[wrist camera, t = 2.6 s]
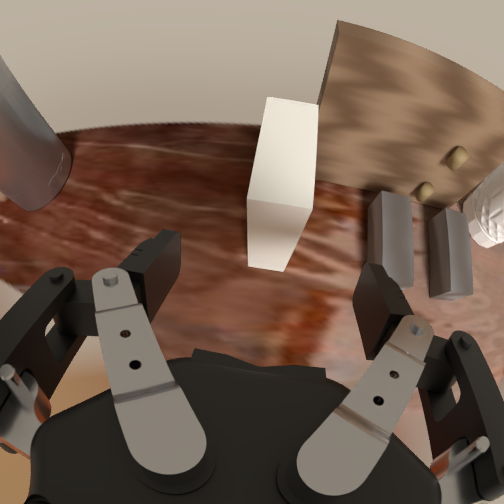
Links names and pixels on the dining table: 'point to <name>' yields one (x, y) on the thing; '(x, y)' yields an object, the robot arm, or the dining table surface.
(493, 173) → the white cup
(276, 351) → the dining table surface
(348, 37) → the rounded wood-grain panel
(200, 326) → the dining table surface
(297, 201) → the plain white rectangular block
